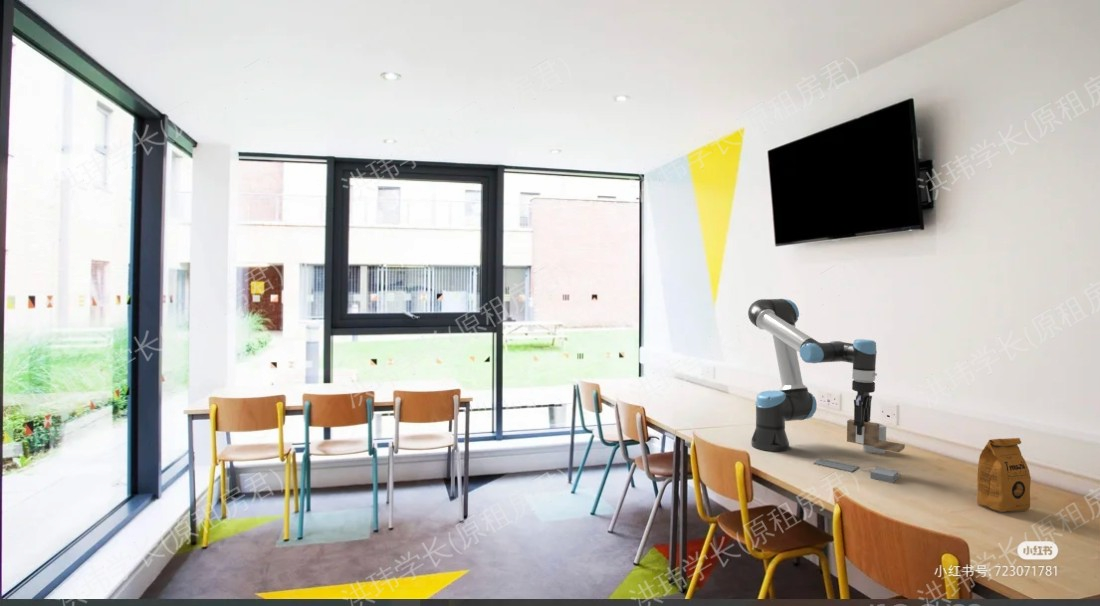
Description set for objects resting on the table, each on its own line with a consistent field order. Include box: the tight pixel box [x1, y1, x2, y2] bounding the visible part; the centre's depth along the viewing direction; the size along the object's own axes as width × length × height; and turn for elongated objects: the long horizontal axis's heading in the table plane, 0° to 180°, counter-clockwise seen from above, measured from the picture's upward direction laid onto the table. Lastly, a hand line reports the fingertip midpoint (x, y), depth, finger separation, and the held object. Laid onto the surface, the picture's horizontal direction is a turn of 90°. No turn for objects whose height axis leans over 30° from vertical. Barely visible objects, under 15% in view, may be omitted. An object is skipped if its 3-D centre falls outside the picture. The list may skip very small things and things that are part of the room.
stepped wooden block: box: [846, 418, 905, 453], centre depth 211 cm, size 18×7×8 cm, turn 45°
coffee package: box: [976, 437, 1032, 513], centre depth 175 cm, size 10×12×22 cm
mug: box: [859, 422, 887, 455], centre depth 236 cm, size 12×8×11 cm
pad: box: [813, 458, 860, 473], centre depth 217 cm, size 14×8×1 cm, turn 45°
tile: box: [870, 466, 899, 484], centre depth 203 cm, size 7×3×8 cm
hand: (861, 441), depth 214 cm, fingers closed on stepped wooden block, 3 cm apart
